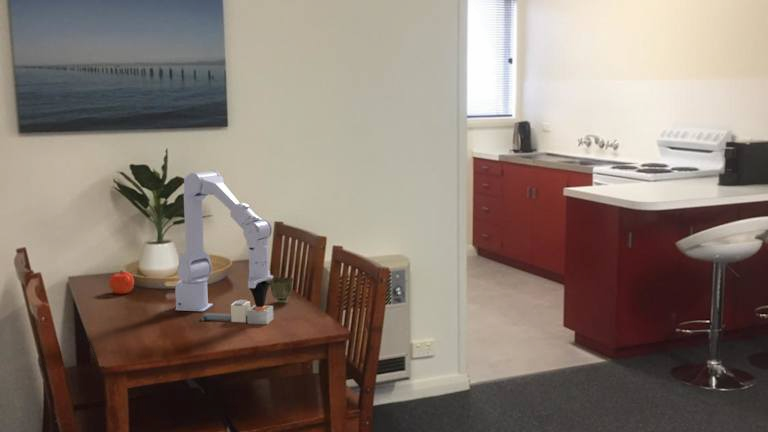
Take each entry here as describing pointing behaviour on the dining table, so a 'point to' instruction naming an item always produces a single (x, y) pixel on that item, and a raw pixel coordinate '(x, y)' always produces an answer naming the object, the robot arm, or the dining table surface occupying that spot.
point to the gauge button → (260, 308)
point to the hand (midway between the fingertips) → (260, 306)
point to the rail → (216, 317)
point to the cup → (281, 289)
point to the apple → (121, 283)
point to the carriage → (239, 310)
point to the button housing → (259, 315)
